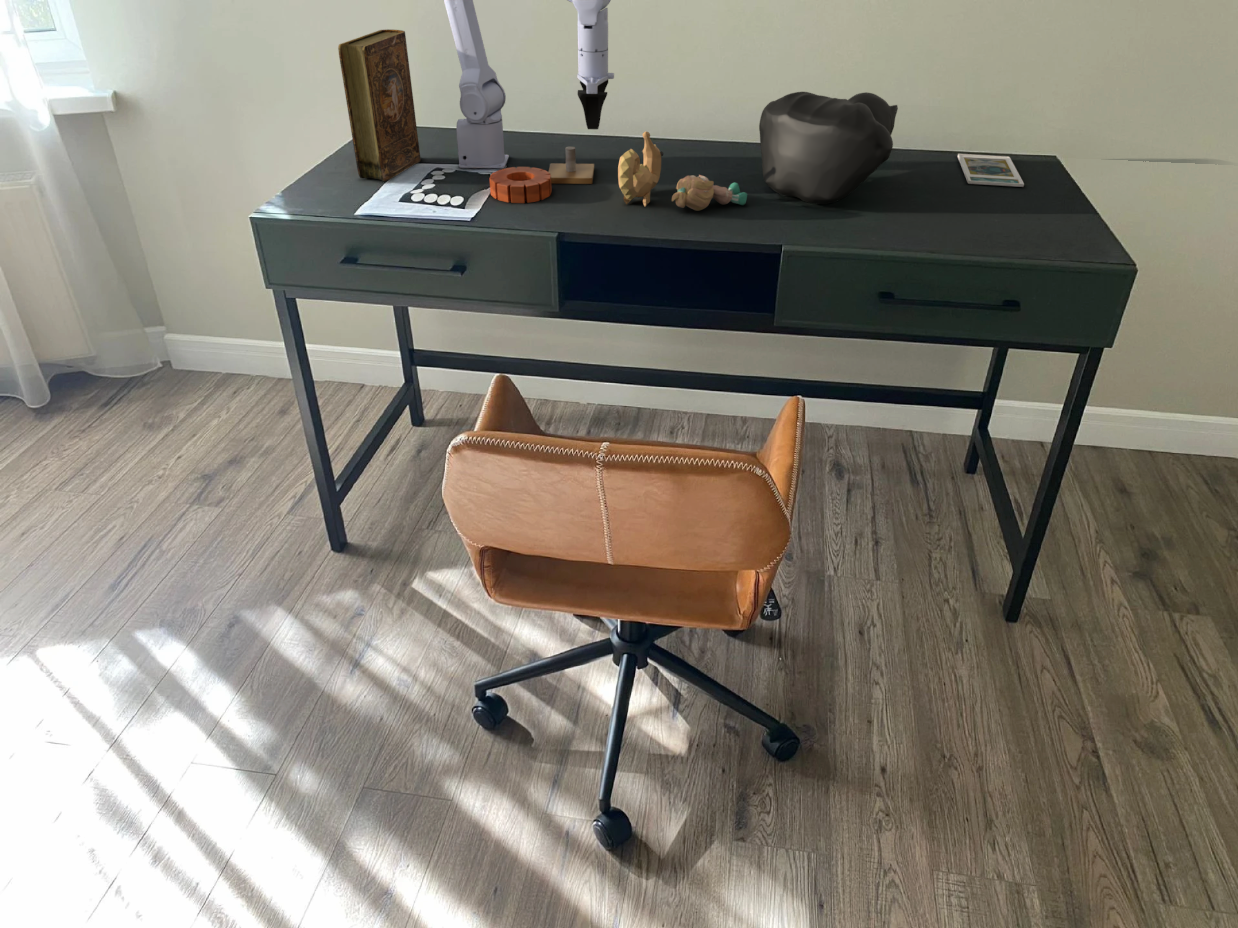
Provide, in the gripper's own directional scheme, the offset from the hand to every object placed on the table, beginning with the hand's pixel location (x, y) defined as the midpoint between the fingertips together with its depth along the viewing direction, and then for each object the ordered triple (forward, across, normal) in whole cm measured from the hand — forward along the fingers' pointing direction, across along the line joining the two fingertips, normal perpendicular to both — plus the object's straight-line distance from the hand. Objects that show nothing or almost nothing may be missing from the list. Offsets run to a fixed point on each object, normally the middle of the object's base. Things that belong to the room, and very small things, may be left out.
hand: (593, 123), depth 179 cm
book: (+10, +2, +42) cm, 43 cm away
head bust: (+10, -6, -47) cm, 49 cm away
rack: (+10, -2, +5) cm, 11 cm away
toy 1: (+10, -16, -9) cm, 21 cm away
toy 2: (+10, -19, -22) cm, 31 cm away
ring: (+10, -12, +14) cm, 21 cm away
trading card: (+10, +3, -82) cm, 82 cm away
